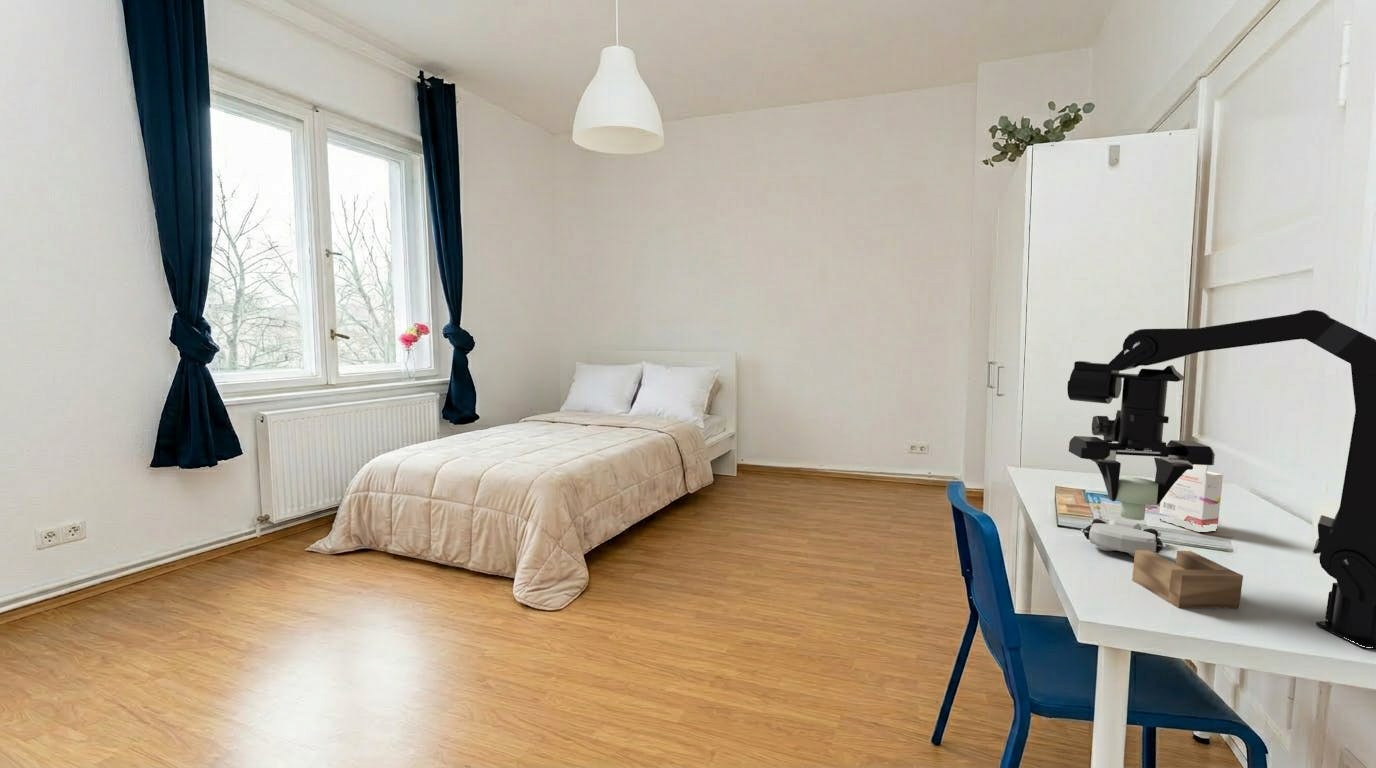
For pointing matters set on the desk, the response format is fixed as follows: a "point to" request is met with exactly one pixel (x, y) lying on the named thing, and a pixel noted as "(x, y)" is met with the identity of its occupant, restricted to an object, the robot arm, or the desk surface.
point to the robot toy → (1122, 536)
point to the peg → (1136, 496)
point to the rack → (1188, 580)
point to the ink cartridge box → (1194, 496)
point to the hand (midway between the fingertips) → (1134, 502)
